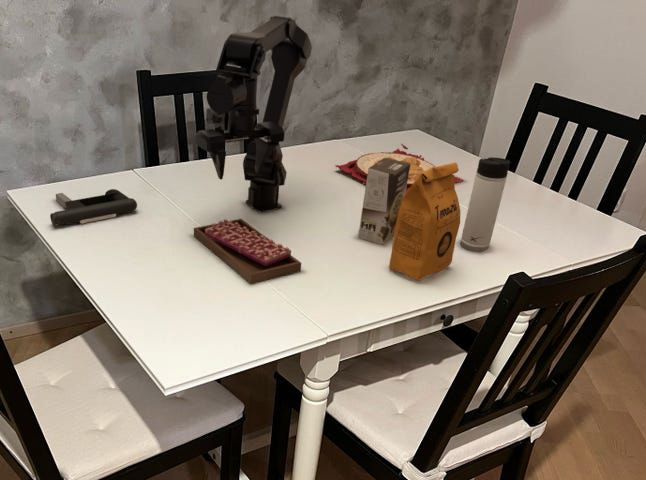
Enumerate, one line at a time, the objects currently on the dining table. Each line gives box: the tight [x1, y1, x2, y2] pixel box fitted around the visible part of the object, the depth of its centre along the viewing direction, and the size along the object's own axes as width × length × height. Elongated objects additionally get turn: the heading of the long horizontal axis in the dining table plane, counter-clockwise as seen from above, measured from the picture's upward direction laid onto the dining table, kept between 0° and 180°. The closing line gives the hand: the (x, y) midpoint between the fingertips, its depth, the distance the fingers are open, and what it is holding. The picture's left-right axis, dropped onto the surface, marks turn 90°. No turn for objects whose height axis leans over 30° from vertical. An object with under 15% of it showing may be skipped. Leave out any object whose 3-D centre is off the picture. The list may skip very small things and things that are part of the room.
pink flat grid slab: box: [205, 218, 292, 266], centre depth 155 cm, size 7×19×2 cm, turn 44°
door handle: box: [49, 188, 138, 226], centre depth 170 cm, size 3×20×16 cm
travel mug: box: [459, 156, 511, 253], centre depth 159 cm, size 6×7×20 cm
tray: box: [193, 218, 302, 285], centre depth 156 cm, size 12×24×2 cm, turn 32°
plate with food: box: [334, 143, 464, 194], centre depth 198 cm, size 24×26×3 cm
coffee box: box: [357, 158, 411, 246], centre depth 163 cm, size 9×6×16 cm
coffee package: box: [388, 162, 461, 281], centre depth 148 cm, size 10×12×22 cm
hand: (239, 175), depth 160 cm, fingers open, 9 cm apart
